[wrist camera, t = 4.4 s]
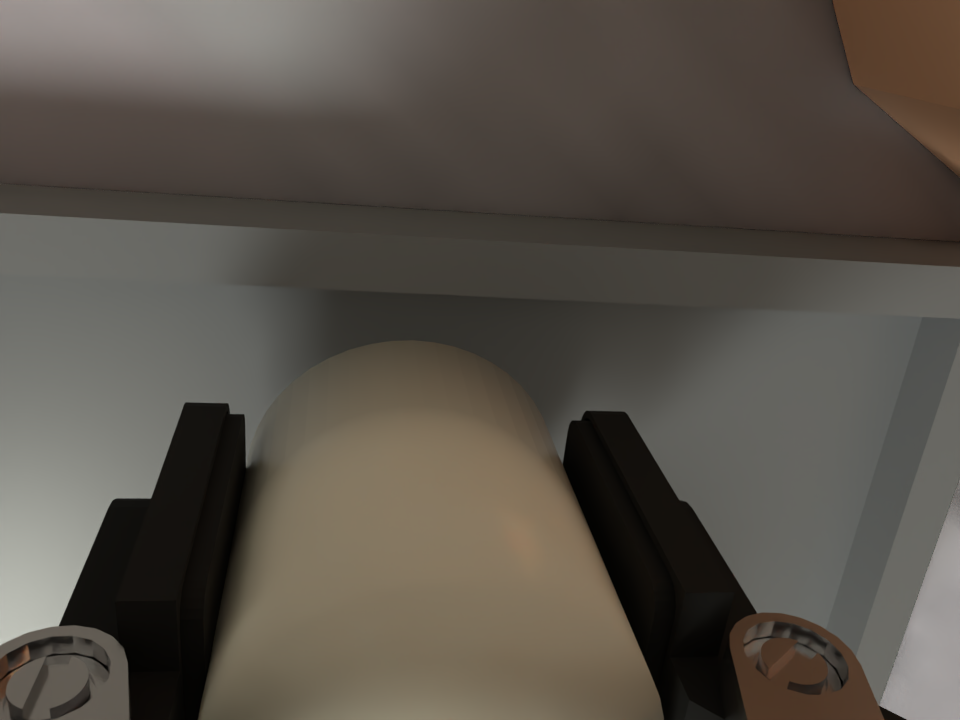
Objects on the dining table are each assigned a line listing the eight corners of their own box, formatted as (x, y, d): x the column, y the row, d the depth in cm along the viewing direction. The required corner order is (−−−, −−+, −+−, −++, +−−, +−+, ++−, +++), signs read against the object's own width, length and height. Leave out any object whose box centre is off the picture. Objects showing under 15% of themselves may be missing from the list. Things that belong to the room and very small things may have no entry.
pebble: (243, 334, 11) (178, 584, 7) (573, 345, 12) (706, 578, 8) (246, 605, 13) (197, 942, 9) (534, 600, 14) (623, 909, 9)
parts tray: (-218, 170, 12) (-293, 197, 10) (968, 242, 15) (1033, 271, 13) (-52, 937, 18) (-86, 1017, 17) (762, 889, 21) (791, 954, 19)
